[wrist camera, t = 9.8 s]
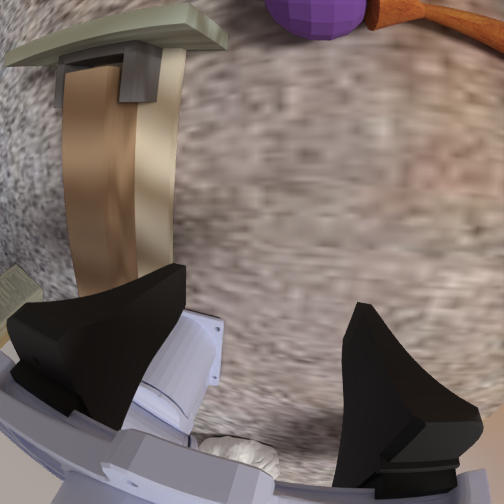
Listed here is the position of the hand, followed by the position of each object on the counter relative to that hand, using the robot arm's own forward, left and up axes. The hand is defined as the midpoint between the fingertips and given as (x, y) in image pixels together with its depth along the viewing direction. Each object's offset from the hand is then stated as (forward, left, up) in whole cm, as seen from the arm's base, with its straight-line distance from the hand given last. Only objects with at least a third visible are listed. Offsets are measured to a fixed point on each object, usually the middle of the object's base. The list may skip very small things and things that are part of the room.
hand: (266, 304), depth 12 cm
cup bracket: (+1, +14, -10) cm, 17 cm away
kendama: (+17, -7, -11) cm, 21 cm away
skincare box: (-15, +32, -11) cm, 37 cm away
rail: (+1, +14, -9) cm, 17 cm away
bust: (-34, 0, -11) cm, 36 cm away
